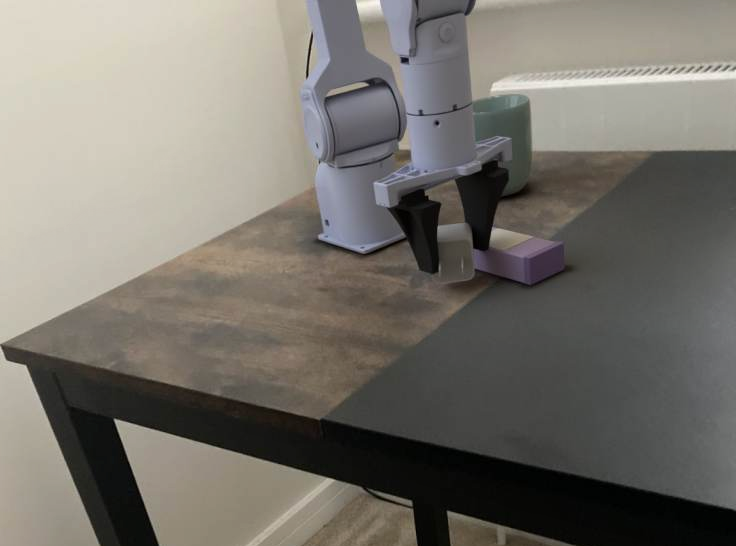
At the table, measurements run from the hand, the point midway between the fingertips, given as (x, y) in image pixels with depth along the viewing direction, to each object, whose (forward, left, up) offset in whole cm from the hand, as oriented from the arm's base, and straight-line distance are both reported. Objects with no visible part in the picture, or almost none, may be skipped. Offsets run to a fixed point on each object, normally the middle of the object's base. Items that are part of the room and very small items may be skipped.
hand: (454, 259), depth 84 cm
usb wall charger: (+1, -1, -2) cm, 2 cm away
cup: (-17, +22, -3) cm, 28 cm away
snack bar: (0, +6, -2) cm, 7 cm away
